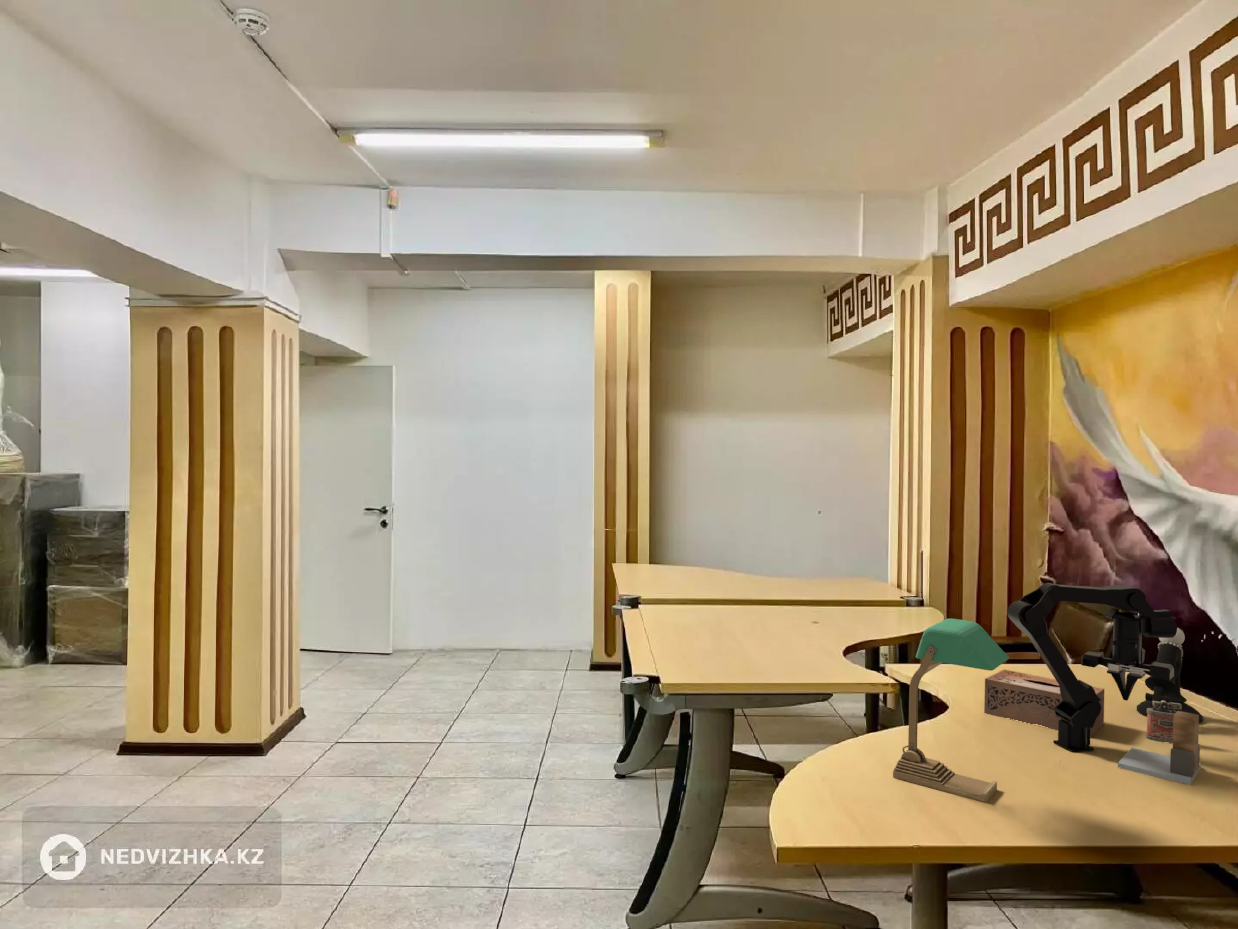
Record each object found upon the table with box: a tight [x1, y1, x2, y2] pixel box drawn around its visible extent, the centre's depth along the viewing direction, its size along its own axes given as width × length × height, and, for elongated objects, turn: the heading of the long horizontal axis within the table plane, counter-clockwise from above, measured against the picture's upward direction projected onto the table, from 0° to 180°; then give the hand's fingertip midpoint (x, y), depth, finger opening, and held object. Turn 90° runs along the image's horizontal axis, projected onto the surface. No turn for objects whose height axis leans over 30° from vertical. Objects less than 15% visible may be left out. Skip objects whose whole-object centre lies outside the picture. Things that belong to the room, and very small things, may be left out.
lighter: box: [1145, 700, 1182, 744], centre depth 201 cm, size 8×3×10 cm, turn 62°
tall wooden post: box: [1172, 711, 1200, 773], centre depth 180 cm, size 4×5×12 cm
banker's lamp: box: [892, 618, 1010, 803], centre depth 172 cm, size 16×21×35 cm
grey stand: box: [1117, 743, 1202, 786], centre depth 183 cm, size 14×14×6 cm
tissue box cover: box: [983, 669, 1105, 736], centre depth 217 cm, size 26×14×10 cm, turn 45°
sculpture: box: [1136, 627, 1204, 724], centre depth 218 cm, size 15×24×25 cm, turn 134°
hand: (1125, 700), depth 195 cm, fingers closed
